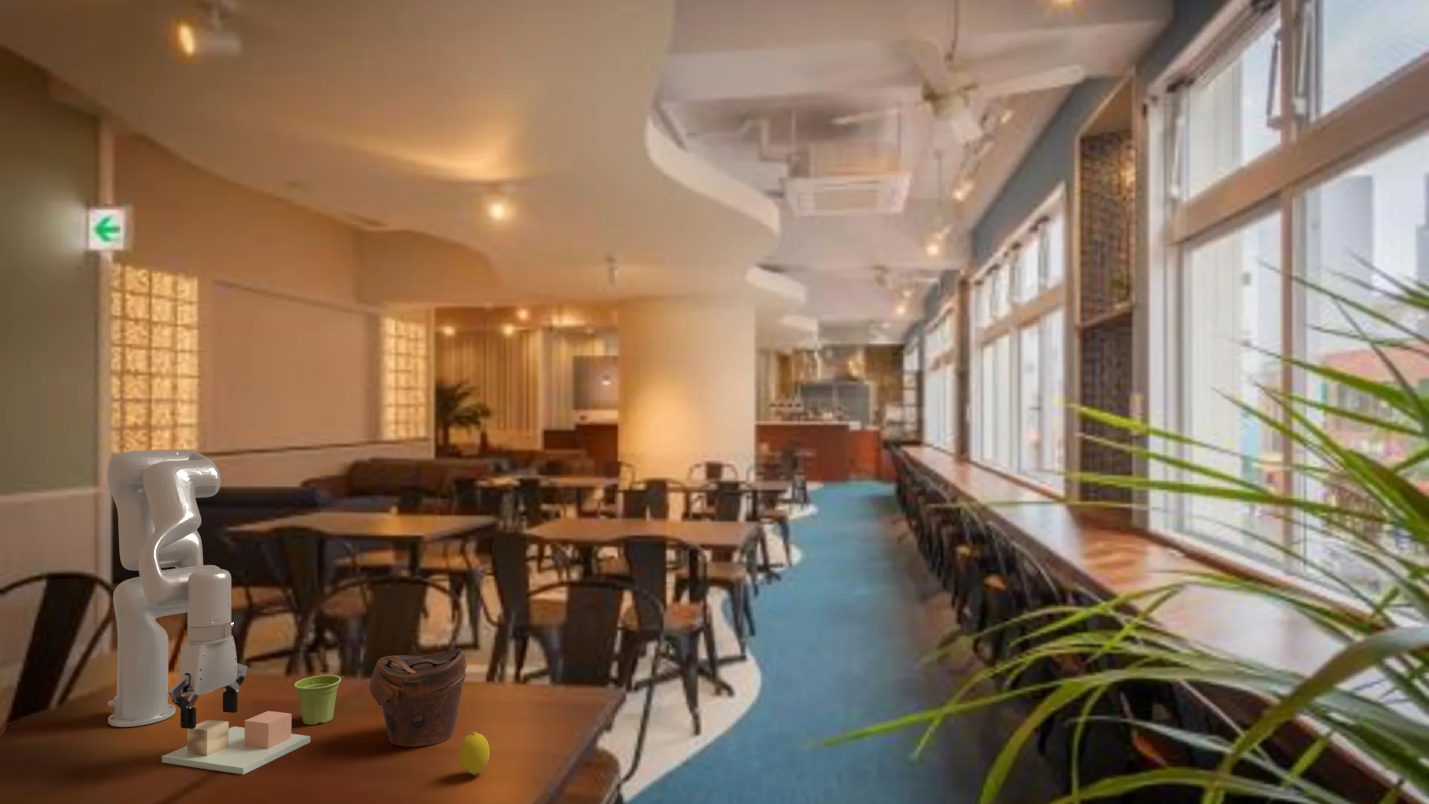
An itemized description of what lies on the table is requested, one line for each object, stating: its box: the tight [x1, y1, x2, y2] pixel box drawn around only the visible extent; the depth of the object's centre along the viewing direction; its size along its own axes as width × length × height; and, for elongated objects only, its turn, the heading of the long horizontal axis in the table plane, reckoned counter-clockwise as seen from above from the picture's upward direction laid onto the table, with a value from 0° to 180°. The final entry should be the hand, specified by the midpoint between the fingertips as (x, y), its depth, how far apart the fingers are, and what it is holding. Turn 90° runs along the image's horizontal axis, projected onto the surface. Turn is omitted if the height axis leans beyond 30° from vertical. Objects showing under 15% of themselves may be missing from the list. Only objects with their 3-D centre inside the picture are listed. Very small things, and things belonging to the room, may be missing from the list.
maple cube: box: [186, 718, 230, 756], centre depth 170 cm, size 5×5×5 cm
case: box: [369, 647, 468, 748], centre depth 180 cm, size 18×20×18 cm
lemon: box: [458, 731, 491, 776], centre depth 160 cm, size 6×6×8 cm
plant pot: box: [293, 674, 342, 726], centre depth 190 cm, size 9×9×9 cm
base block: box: [244, 710, 293, 749], centre depth 174 cm, size 6×6×5 cm
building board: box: [161, 725, 311, 775], centre depth 172 cm, size 20×17×1 cm
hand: (209, 719), depth 169 cm, fingers open, 9 cm apart
